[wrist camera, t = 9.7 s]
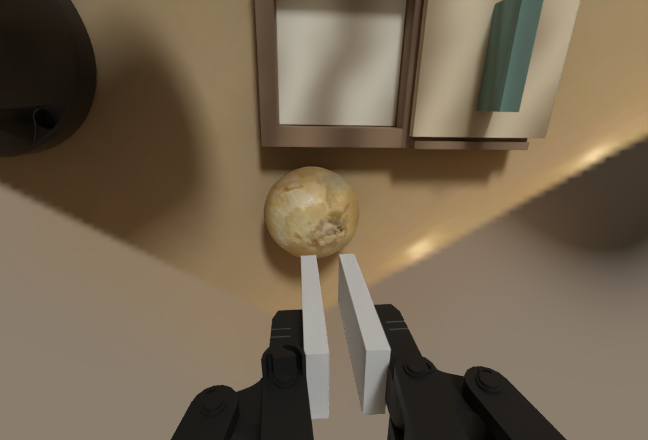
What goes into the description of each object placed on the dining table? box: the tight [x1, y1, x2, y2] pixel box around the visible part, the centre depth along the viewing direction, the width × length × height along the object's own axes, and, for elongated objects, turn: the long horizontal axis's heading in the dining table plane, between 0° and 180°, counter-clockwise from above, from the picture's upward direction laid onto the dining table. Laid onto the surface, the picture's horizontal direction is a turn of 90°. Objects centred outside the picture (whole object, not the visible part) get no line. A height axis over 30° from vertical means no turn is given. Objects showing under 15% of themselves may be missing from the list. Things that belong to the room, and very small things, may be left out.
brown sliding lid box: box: [255, 0, 529, 150], centre depth 24 cm, size 22×13×4 cm, turn 89°
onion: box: [264, 167, 359, 258], centre depth 26 cm, size 8×8×7 cm
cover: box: [409, 0, 580, 138], centre depth 22 cm, size 11×11×4 cm
